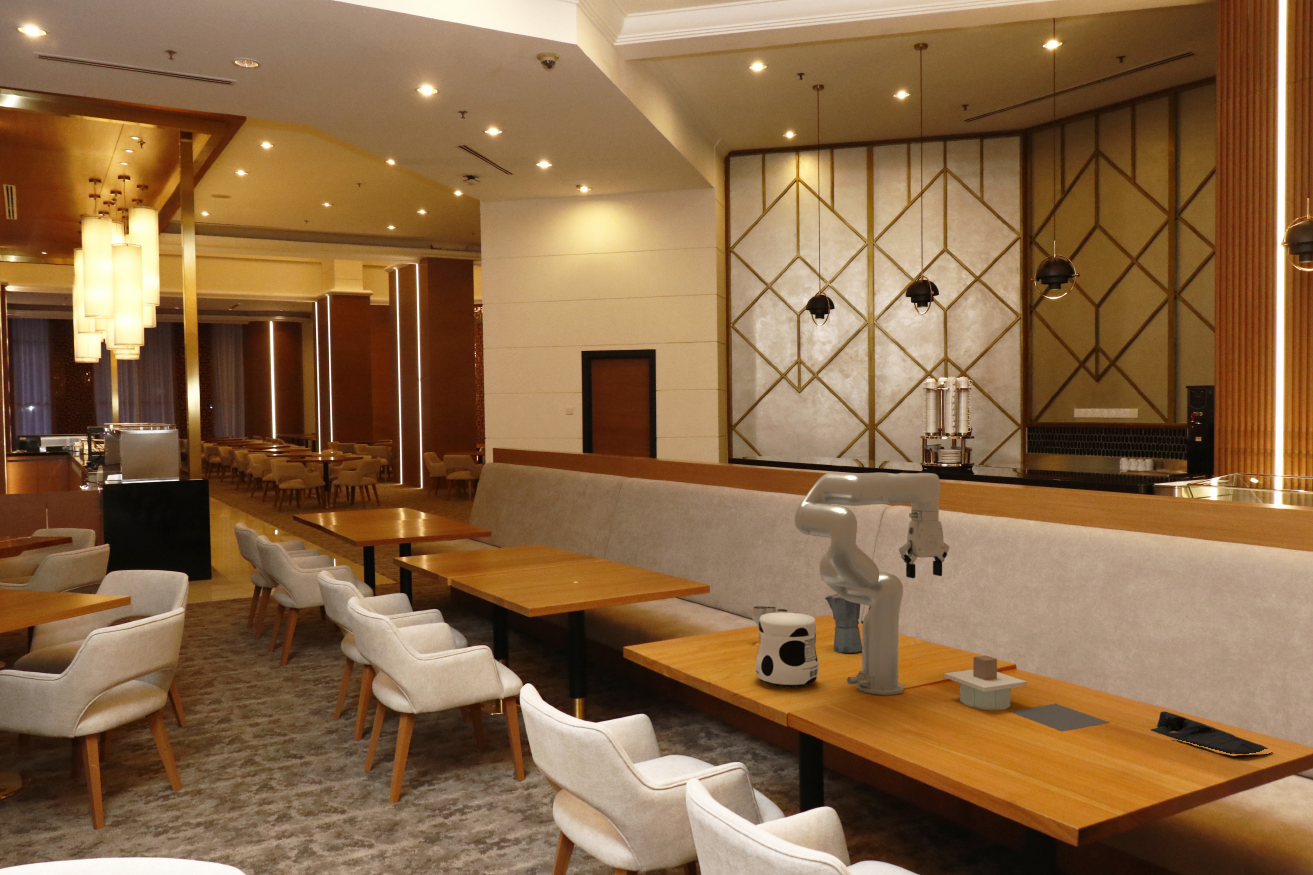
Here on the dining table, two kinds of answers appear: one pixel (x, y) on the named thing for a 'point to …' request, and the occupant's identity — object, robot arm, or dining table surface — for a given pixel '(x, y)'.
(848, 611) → the moka pot
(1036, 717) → the mat
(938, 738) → the dining table surface
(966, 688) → the bowl
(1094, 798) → the dining table surface
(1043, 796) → the dining table surface
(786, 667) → the milk container
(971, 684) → the lid
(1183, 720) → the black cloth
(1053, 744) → the dining table surface
